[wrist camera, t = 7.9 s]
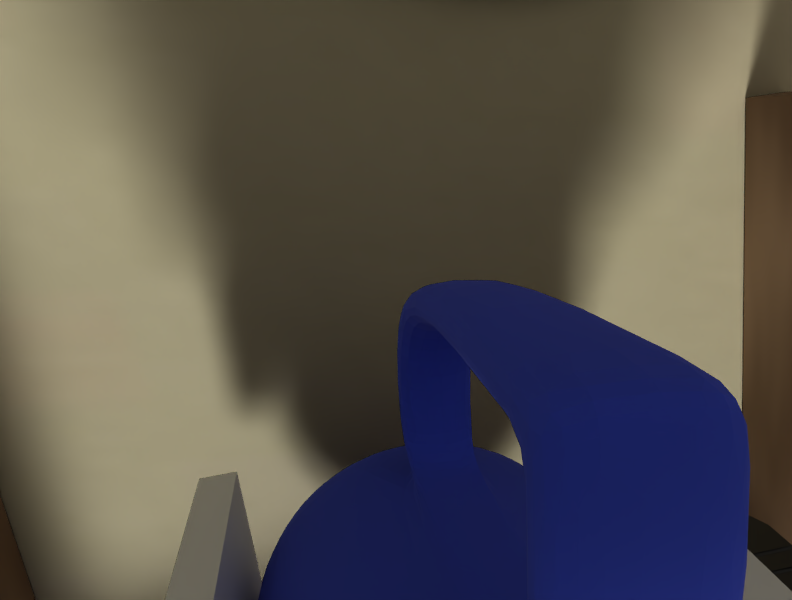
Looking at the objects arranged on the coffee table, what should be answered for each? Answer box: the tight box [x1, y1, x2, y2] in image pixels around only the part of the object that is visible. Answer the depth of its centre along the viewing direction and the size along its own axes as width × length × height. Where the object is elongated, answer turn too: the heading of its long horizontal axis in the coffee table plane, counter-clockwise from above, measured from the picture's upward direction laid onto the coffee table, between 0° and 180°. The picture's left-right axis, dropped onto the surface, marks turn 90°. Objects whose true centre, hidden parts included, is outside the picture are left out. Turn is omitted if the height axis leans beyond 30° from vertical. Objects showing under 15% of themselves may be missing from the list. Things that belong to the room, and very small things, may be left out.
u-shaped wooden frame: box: [0, 92, 792, 600], centre depth 14 cm, size 18×21×7 cm
